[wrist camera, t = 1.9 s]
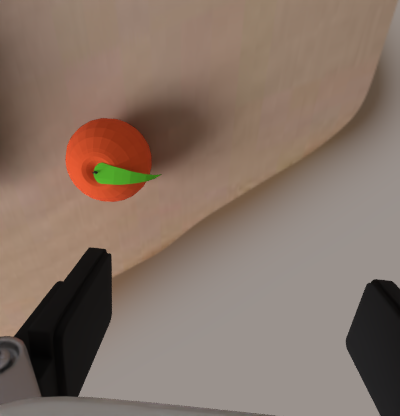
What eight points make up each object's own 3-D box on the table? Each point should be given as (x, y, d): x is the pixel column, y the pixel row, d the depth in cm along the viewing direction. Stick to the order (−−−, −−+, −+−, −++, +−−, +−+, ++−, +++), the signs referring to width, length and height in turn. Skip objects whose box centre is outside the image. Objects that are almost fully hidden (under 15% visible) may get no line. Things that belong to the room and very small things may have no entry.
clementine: (173, 123, 28) (162, 138, 21) (163, 193, 31) (150, 225, 24) (86, 106, 27) (46, 116, 21) (83, 179, 30) (48, 207, 24)
